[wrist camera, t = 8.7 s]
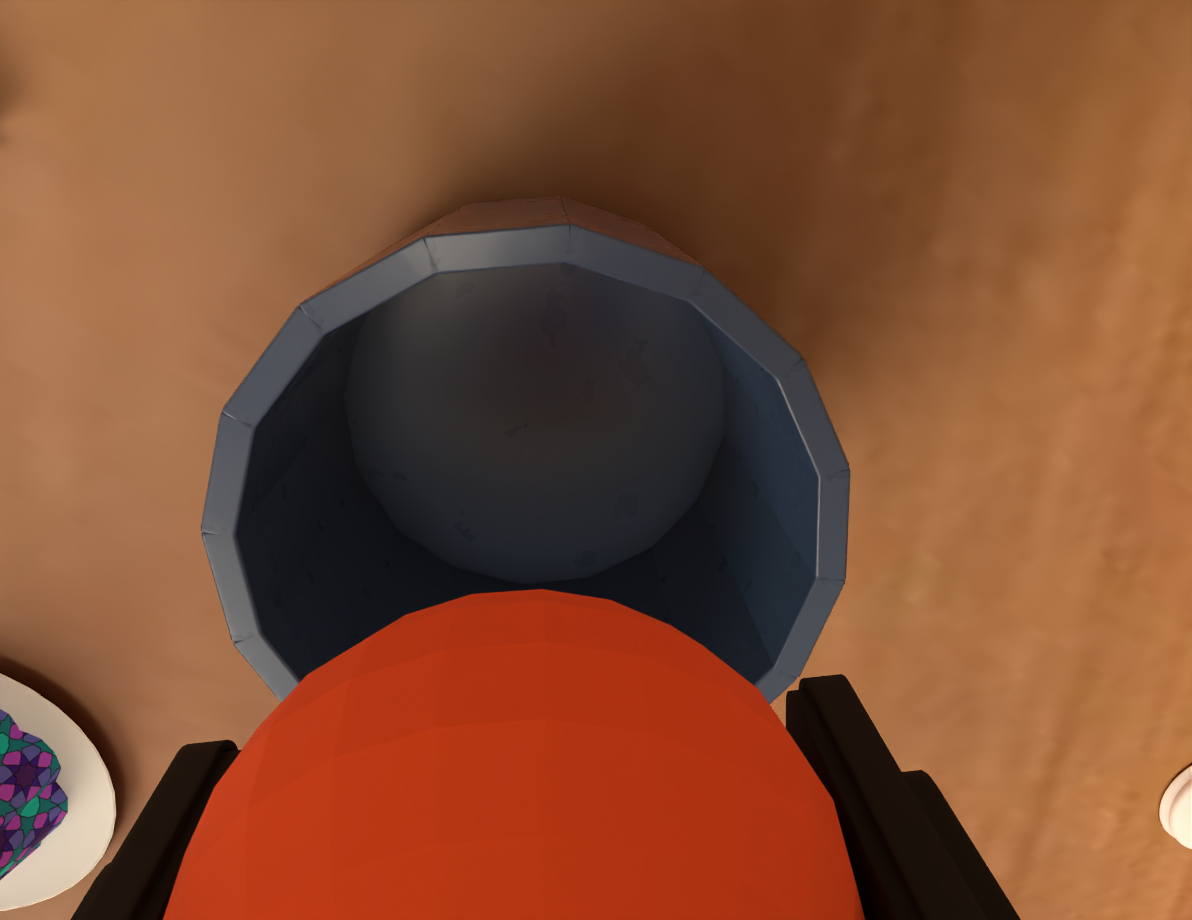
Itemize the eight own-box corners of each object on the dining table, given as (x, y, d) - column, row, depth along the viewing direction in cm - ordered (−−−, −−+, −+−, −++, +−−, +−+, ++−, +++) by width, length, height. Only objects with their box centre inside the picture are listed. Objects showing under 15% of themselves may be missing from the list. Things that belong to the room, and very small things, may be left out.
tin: (738, 179, 24) (863, 197, 15) (742, 572, 29) (839, 773, 20) (287, 217, 24) (121, 261, 14) (369, 609, 28) (285, 833, 19)
